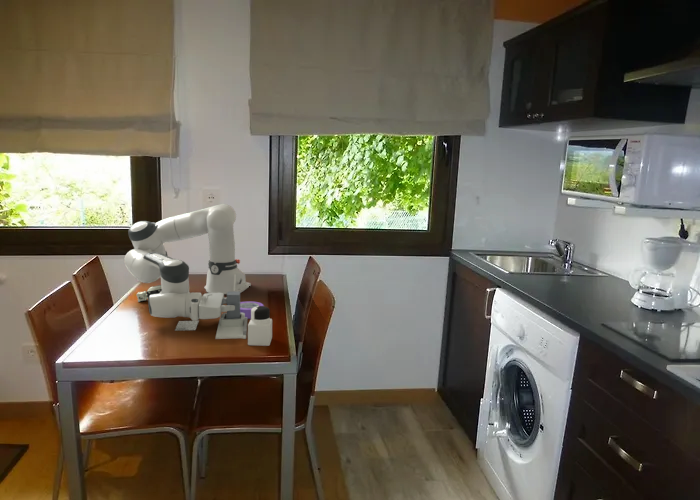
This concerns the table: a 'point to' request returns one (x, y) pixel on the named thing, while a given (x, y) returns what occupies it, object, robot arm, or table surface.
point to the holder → (232, 327)
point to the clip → (233, 299)
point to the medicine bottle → (260, 327)
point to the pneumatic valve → (148, 293)
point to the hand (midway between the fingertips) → (235, 304)
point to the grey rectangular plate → (186, 325)
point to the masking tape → (248, 307)
